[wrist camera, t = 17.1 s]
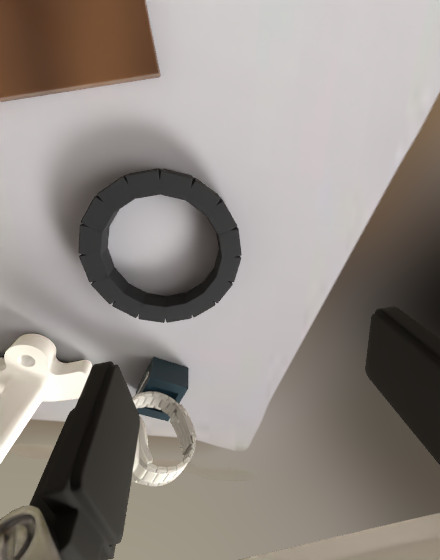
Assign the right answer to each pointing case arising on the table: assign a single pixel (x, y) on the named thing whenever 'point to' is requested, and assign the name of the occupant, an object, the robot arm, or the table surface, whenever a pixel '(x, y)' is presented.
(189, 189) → the ring
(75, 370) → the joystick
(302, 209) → the table surface
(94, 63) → the stand
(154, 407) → the watch
